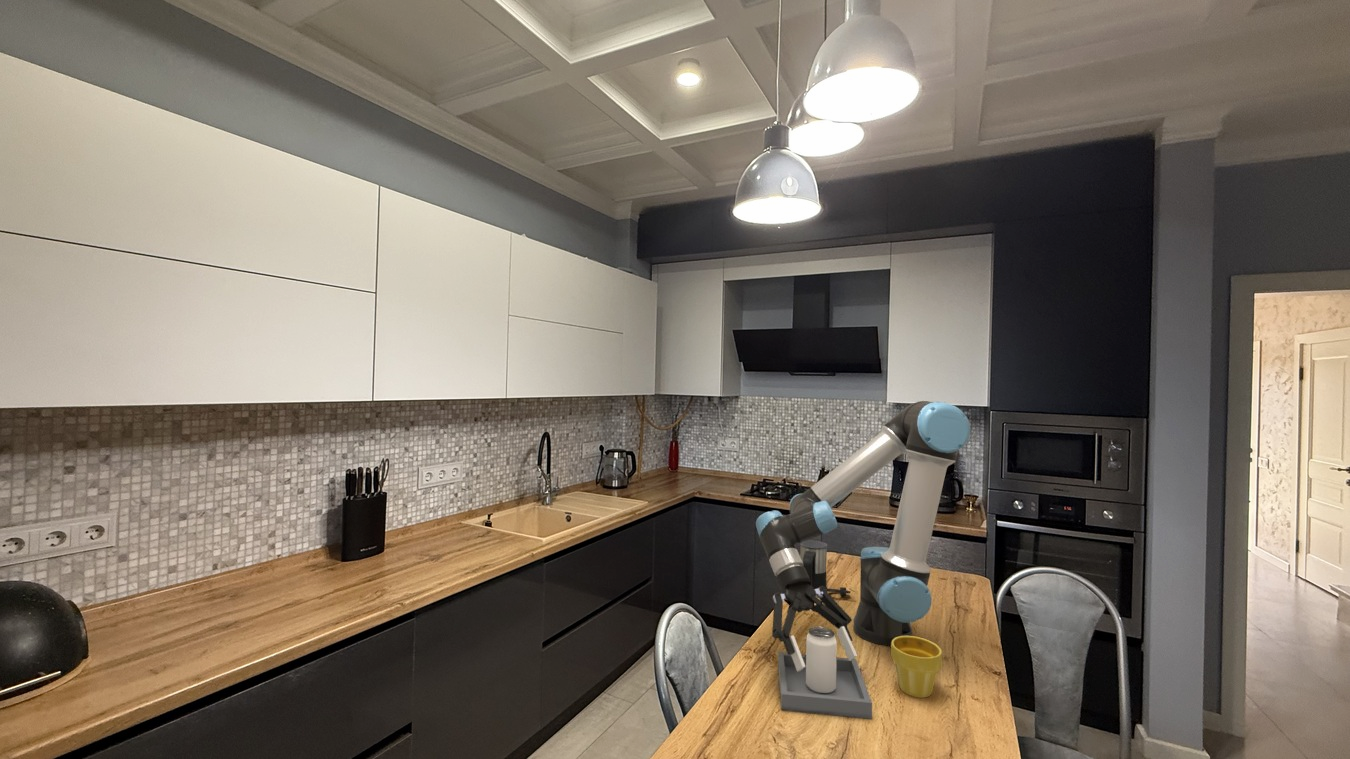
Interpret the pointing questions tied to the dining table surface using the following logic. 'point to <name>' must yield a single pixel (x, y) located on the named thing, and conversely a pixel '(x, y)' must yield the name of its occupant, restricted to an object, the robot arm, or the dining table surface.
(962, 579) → the dining table surface
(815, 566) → the milk frother
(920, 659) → the plant pot
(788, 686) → the tray
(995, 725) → the dining table surface
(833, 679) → the can
